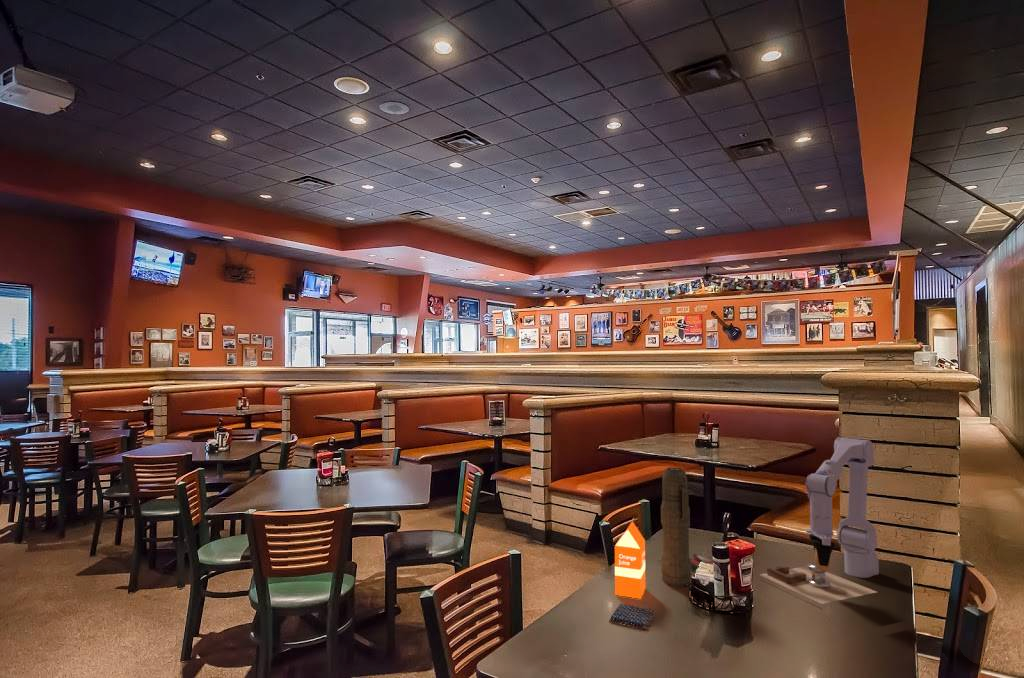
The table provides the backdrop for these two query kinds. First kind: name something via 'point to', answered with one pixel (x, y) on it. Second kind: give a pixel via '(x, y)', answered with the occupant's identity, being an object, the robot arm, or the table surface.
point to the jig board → (835, 592)
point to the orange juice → (630, 564)
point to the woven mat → (633, 616)
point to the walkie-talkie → (697, 561)
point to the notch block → (781, 575)
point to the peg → (823, 568)
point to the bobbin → (817, 577)
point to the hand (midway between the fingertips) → (822, 563)
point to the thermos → (675, 528)
